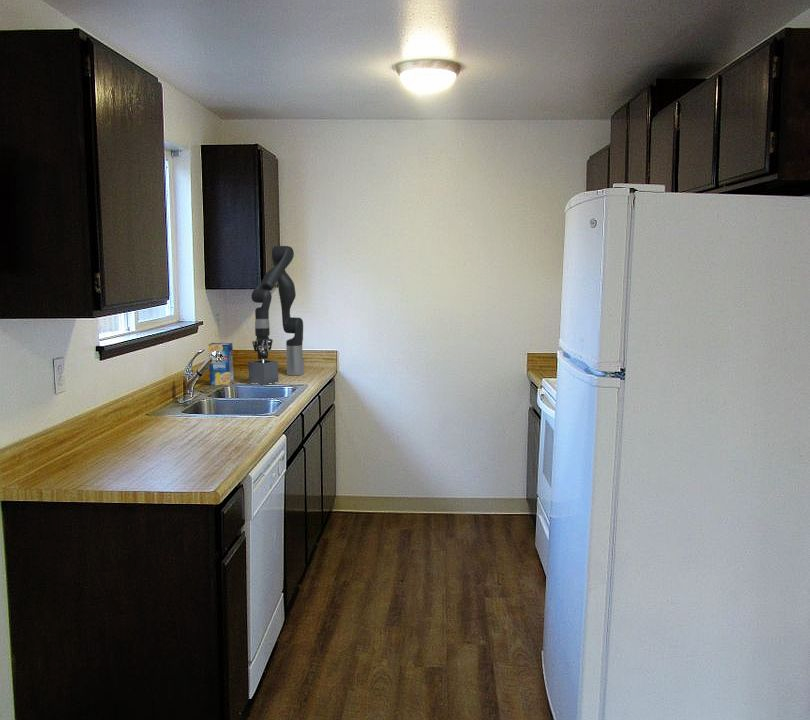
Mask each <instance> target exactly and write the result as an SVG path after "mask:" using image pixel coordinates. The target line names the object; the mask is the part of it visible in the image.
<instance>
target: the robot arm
mask: <svg viewBox="0 0 810 720" xmlns="http://www.w3.org/2000/svg"><path fill="white" fill-rule="evenodd" d="M271 249H272V250H271V257H272V259H271V260H272V263H273V267H272V268H270V269H269V270H268V271H267V272H266V273H265V275H264V277H263V278H262V280H261V282H260V283H259V284H258V285H257V286H256V287H255V288H254V289H253V291H252V292H251V297H250V298H251V301H253V302H254V303H255V304H256V303H257V304H258V303H259V304H261V306H258V307H256V308H255V310H254V311H255V312H254V313H255V314H254V315H255V316H254V317H255V320H254V321H255V322H254V331H255V332H254V333H255V336H256V338H255V340H252V342H251V343H252V346H253V351H254V352H255V353H257V358H258V360H262V353H261V352H262V350H265V351H267V357H264V359H265V360H268V358H269V351H271V350H272V345H273V342H274V339H272V338H269V336H270V334H271V333H270V320H269V319H270V315H269V314H270V313H269V311H270V306H271V302H272V299H273V298H272V296H273V295H272V293H271V291H272V290H273V289H274V287H275V286H276V284H277V287H278V296H279V301H280V306H281V317H282V320H281V321H282V322H281V323H282V329H283V331H284V332H285V333H286V334H294V335H293V337H292V338H288V339H286V345H285V346H286V352H285V353H286V375H287V376H303V374H305V364H304V363H305V361H304V360H305V359H304V357H303V342H304V341H303V340H304V321H303V319H302V318H301V317H292V316H291V312H290V311H291V308H292V305H293V303H294V300H295V299H296V287H295V283H294V281H293V279H292V278H291V276H290V275H289V274H288V273H287V271H286V269H287V268H288V266H289V265H290V264H291V263H292V261H293V259H294V256H295V254H294V253H295V252H294V249H293V247H291V246H288V245H274V246H273V247H272V248H271Z"/></svg>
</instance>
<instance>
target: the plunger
mask: <svg viewBox="0 0 810 720" xmlns="http://www.w3.org/2000/svg"><path fill="white" fill-rule="evenodd" d="M261 353H262V359H261V360H262V363H264V360H265V358H264V357H267V351H265V350H264V349H262V352H261Z"/></svg>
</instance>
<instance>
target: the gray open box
mask: <svg viewBox="0 0 810 720" xmlns="http://www.w3.org/2000/svg"><path fill="white" fill-rule="evenodd" d="M247 367H248V384H249V383H258V384H264V385H265V384H269V383H275V382H278V383H279V361H278V360H273V359H272V360H271V359H269V360H268V359H264V363H262V359H261V360H260V359H258V360H257V359H256V360H251V361H248V366H247Z"/></svg>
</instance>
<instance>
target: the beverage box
mask: <svg viewBox="0 0 810 720" xmlns="http://www.w3.org/2000/svg"><path fill="white" fill-rule="evenodd" d="M233 349H234V348H233V342H211V343H208V358H209V357H210V355H211V353H212V352H214V351H219V352H221V353H222V354H223V357H224V359H223V361H222V362H216V361H212V362H211V363H210V365H208V366H209V386H218V385H220V384H231V383H232V382H234V381H235V380H234V378H235V377H234V352H233V351H234V350H233Z"/></svg>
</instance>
